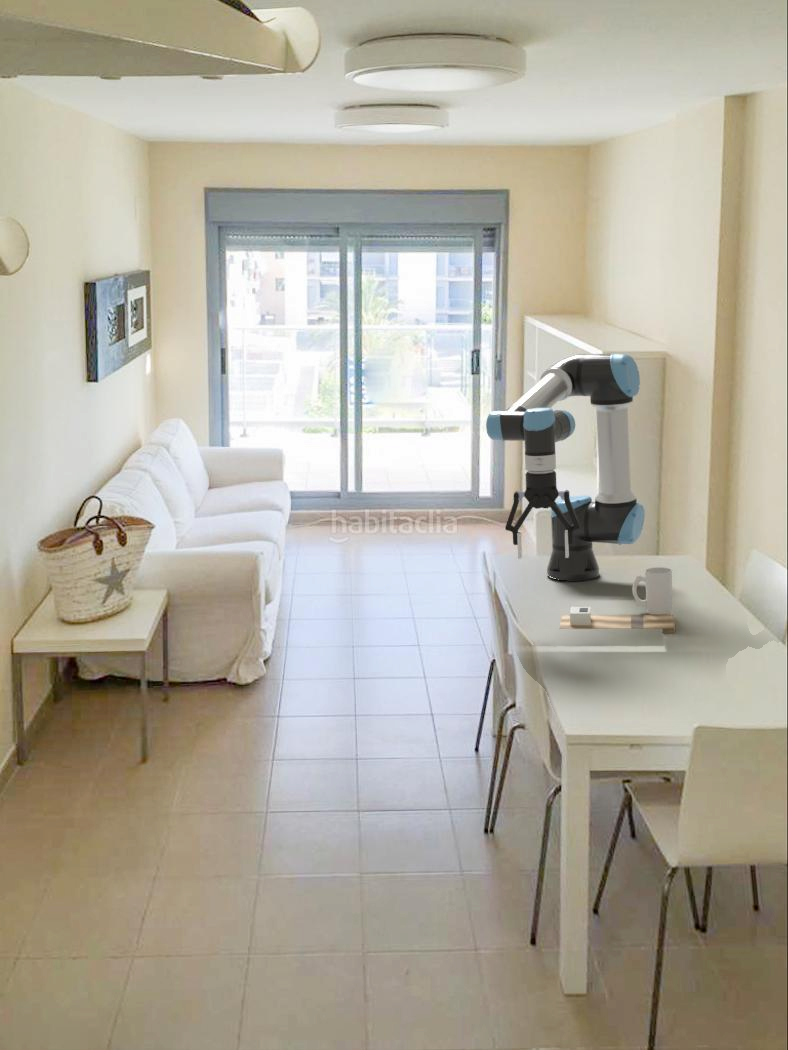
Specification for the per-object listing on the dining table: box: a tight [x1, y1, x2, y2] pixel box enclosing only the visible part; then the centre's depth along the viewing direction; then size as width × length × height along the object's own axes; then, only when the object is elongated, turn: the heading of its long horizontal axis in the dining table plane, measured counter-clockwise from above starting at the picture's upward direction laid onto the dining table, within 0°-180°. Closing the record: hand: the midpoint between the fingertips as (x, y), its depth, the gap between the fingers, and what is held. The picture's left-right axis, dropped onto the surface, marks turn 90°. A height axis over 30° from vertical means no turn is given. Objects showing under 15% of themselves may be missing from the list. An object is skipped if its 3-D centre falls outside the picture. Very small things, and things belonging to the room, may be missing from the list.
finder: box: [569, 606, 592, 625], centre depth 316 cm, size 6×5×3 cm
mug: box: [631, 566, 673, 615], centre depth 320 cm, size 10×7×12 cm, turn 84°
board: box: [559, 614, 676, 634], centre depth 314 cm, size 12×28×1 cm, turn 80°
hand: (543, 557), depth 314 cm, fingers open, 11 cm apart
